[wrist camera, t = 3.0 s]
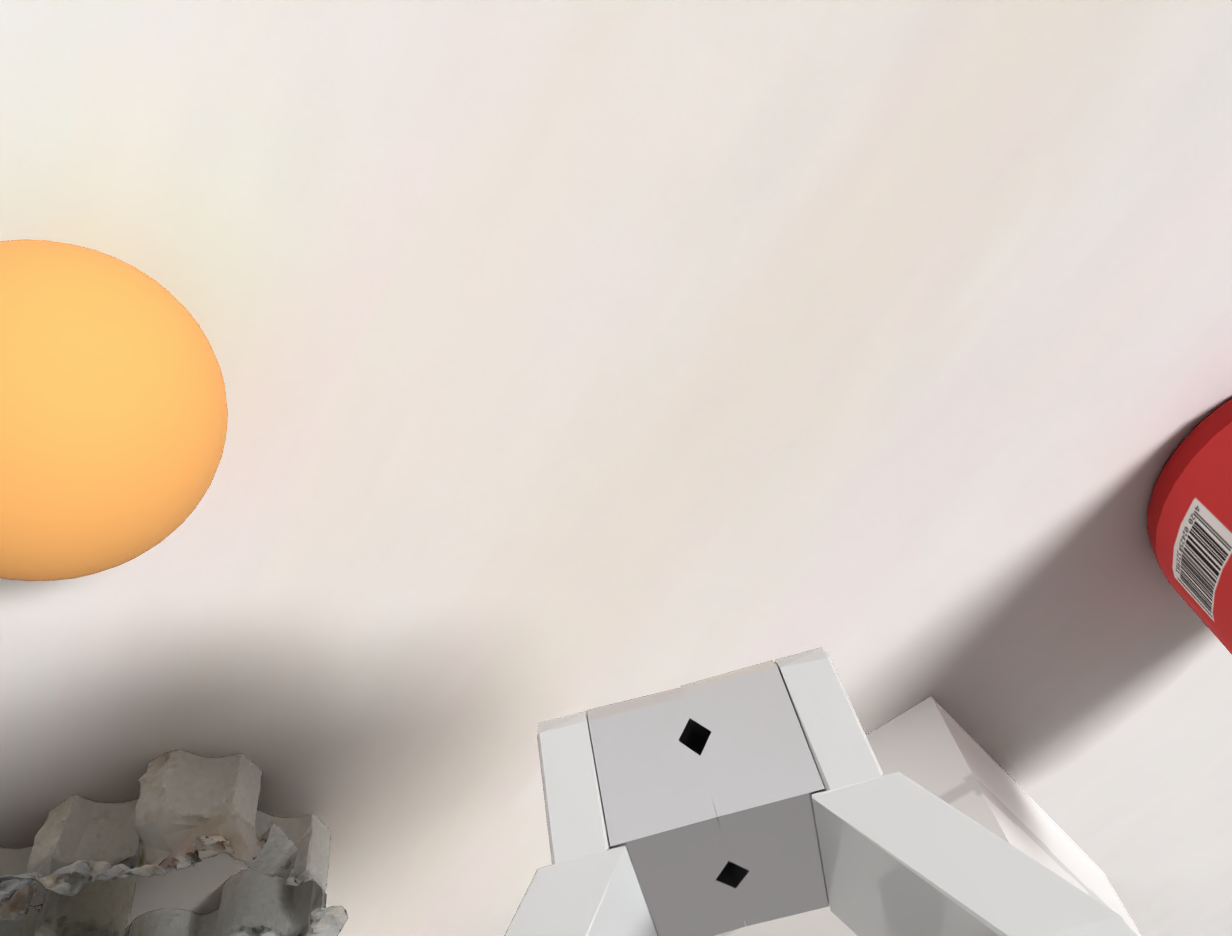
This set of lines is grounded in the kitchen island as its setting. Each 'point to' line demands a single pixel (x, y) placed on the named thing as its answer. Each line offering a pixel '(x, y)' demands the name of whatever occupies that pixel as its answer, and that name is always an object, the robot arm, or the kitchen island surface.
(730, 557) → the kitchen island surface
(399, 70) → the kitchen island surface
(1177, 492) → the canned food
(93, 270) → the ball
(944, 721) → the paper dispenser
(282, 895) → the egg carton
